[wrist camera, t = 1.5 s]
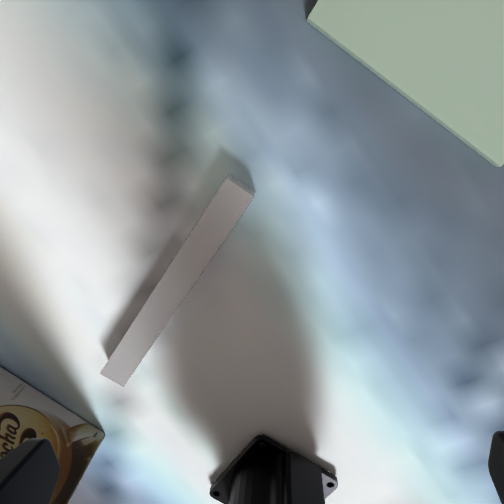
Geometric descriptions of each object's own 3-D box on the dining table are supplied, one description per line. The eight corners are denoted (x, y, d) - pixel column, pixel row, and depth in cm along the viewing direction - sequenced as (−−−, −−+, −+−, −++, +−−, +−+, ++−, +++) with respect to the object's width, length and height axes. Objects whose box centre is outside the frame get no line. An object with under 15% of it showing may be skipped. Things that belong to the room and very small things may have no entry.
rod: (133, 369, 24) (123, 386, 22) (111, 357, 24) (99, 373, 22) (255, 190, 19) (254, 196, 18) (229, 172, 19) (226, 177, 18)
